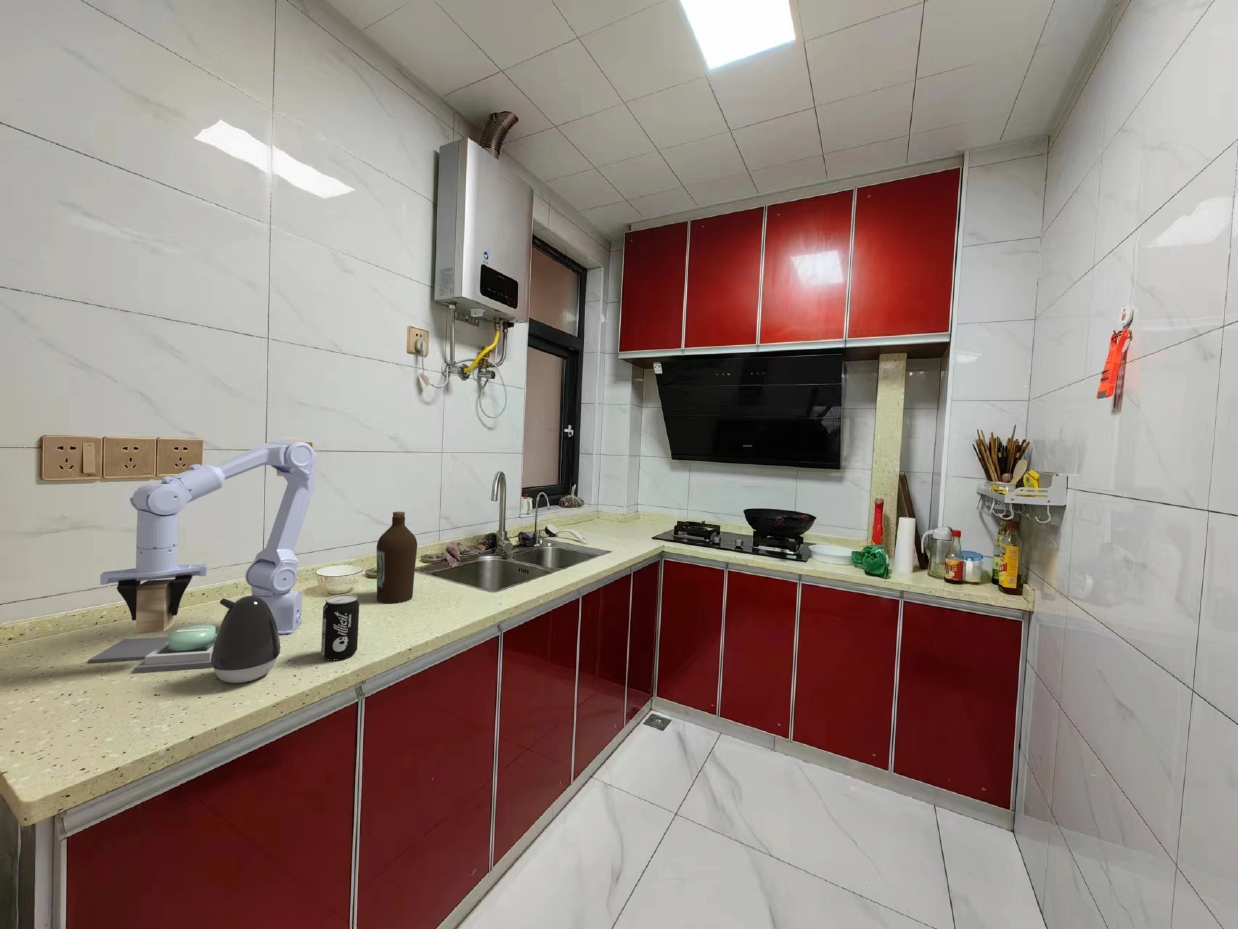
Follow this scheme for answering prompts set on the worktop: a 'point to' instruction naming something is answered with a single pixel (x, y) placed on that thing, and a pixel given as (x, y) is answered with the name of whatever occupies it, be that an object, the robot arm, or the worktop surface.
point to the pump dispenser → (245, 641)
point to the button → (191, 637)
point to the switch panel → (176, 659)
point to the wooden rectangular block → (154, 606)
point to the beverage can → (340, 626)
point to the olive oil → (396, 562)
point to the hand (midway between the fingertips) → (155, 616)
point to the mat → (130, 649)
